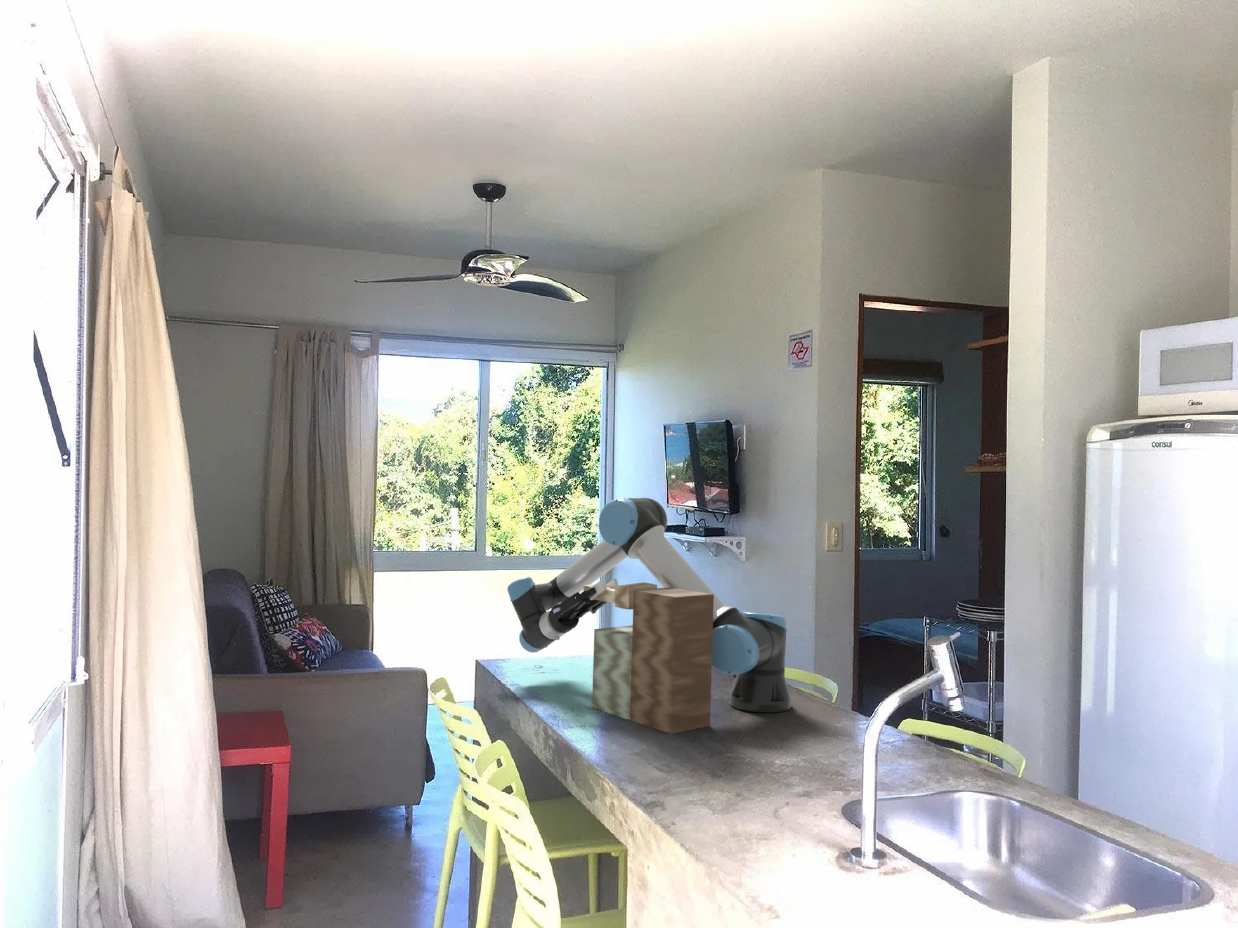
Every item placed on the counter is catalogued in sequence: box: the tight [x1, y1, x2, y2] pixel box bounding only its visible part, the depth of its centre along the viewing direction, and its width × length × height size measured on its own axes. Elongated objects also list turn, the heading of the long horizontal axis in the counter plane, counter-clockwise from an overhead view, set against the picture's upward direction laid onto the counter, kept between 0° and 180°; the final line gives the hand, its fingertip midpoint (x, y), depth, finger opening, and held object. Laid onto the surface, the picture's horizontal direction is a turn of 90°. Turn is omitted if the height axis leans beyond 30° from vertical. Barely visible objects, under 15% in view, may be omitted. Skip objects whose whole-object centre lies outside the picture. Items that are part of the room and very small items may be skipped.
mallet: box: [583, 581, 658, 610], centre depth 245 cm, size 21×9×5 cm, turn 40°
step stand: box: [591, 587, 714, 735], centre depth 235 cm, size 28×12×30 cm, turn 40°
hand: (610, 584), depth 247 cm, fingers closed on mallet, 3 cm apart
